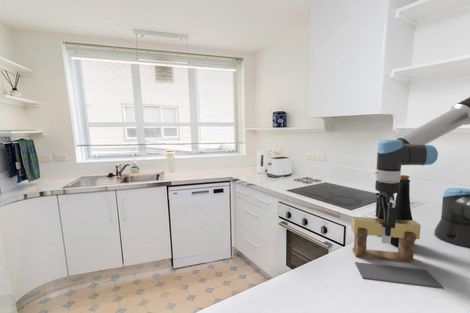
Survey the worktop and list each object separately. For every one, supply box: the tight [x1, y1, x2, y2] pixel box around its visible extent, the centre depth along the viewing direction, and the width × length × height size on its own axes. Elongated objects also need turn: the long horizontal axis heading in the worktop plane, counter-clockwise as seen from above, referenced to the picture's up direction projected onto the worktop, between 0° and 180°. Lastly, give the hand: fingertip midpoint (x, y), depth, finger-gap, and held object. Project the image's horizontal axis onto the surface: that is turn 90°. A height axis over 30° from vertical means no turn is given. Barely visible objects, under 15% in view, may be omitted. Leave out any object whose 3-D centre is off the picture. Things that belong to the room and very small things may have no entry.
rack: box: [351, 229, 417, 264], centre depth 89 cm, size 20×6×11 cm, turn 77°
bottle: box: [390, 174, 414, 248], centre depth 97 cm, size 11×11×30 cm
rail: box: [351, 216, 422, 240], centre depth 88 cm, size 22×4×6 cm, turn 77°
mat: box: [354, 261, 444, 289], centre depth 78 cm, size 23×9×1 cm, turn 77°
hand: (383, 239), depth 89 cm, fingers closed on rail, 4 cm apart
